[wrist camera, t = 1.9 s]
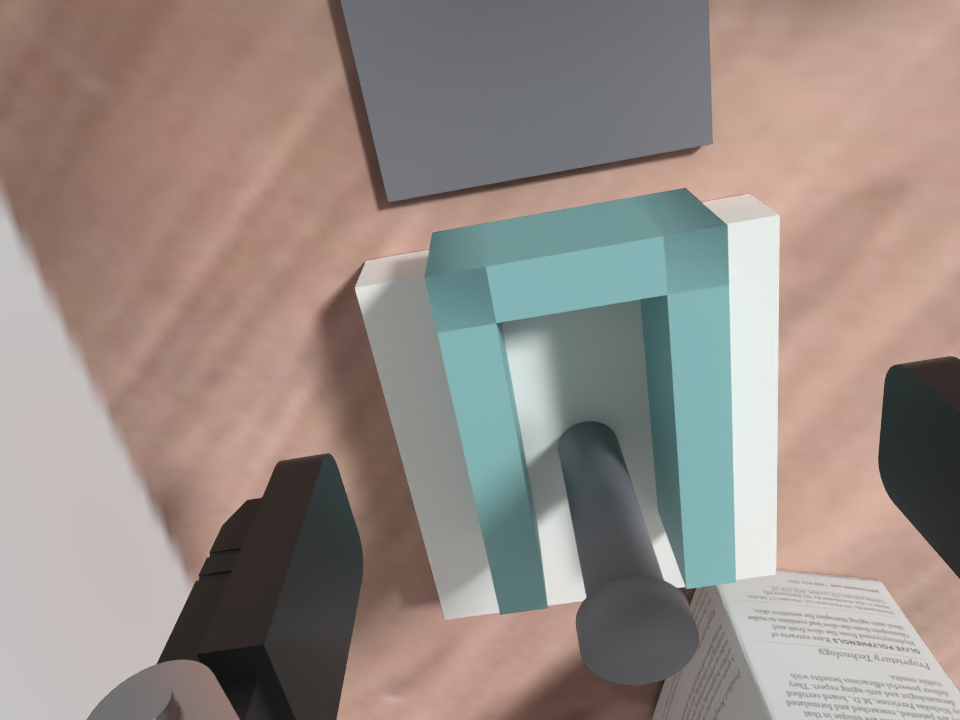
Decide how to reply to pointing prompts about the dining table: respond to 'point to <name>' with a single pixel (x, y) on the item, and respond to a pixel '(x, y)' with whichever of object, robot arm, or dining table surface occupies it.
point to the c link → (668, 354)
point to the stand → (585, 450)
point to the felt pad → (526, 86)
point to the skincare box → (806, 655)
